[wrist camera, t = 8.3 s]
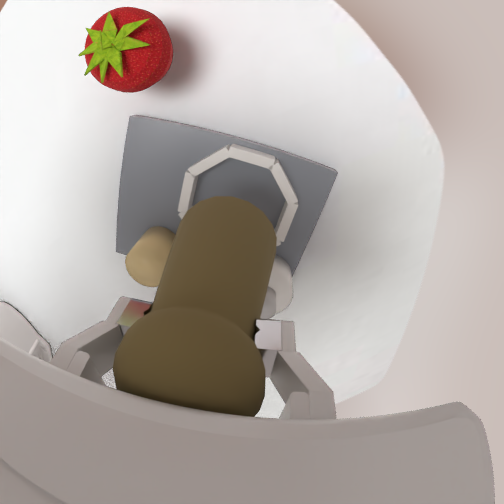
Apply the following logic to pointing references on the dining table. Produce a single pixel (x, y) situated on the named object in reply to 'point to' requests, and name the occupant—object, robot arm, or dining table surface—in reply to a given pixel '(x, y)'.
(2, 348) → the robot arm
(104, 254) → the dining table surface
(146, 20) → the strawberry
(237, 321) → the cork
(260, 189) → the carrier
